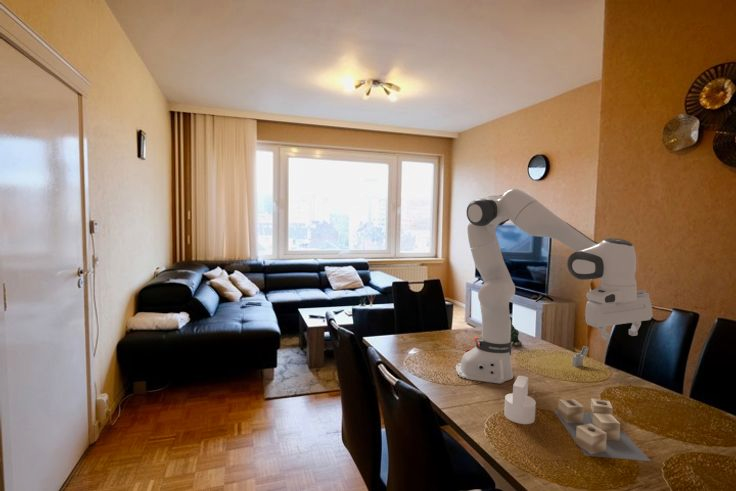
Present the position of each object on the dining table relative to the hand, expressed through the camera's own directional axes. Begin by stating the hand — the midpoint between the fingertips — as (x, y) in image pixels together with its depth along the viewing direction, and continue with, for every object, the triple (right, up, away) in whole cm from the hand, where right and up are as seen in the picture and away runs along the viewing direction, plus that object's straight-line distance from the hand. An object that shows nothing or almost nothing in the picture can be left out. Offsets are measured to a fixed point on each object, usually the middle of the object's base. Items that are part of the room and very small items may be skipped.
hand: (619, 337), depth 114 cm
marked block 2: (-4, -26, +3) cm, 27 cm away
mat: (-10, -27, -4) cm, 29 cm away
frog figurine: (-4, -22, +77) cm, 80 cm away
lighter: (+16, -24, +49) cm, 56 cm away
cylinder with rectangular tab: (-29, -27, +4) cm, 39 cm away
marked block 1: (-13, -26, +3) cm, 29 cm away
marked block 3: (-16, -27, -12) cm, 33 cm away
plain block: (-8, -27, -6) cm, 29 cm away
